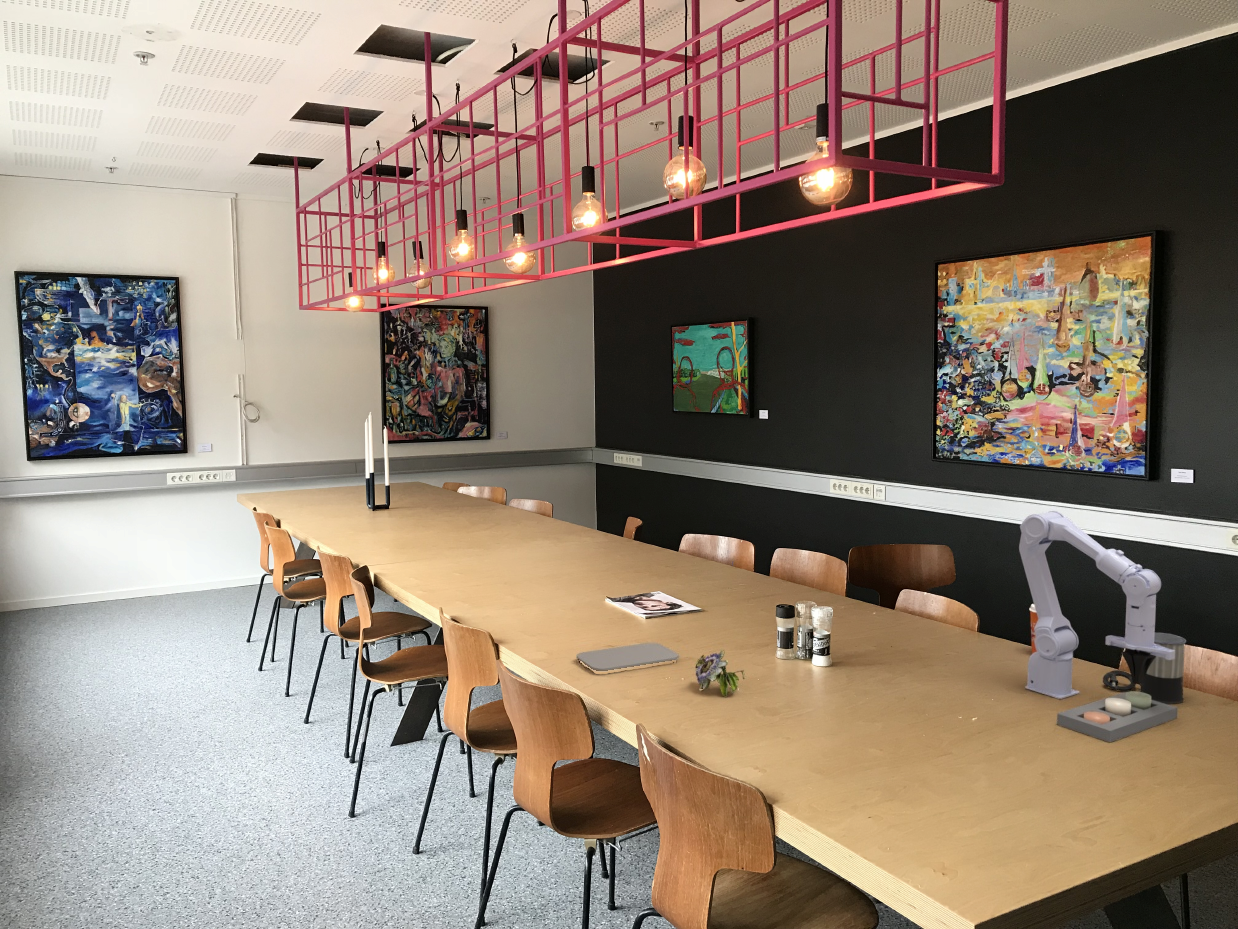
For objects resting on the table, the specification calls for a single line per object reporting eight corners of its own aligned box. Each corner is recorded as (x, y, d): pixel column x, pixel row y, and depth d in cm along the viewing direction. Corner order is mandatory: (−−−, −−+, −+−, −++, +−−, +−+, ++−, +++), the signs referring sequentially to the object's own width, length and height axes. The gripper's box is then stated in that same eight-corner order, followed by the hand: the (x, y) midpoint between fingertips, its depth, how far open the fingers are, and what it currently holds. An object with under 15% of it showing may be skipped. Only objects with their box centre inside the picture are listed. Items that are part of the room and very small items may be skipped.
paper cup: (1021, 653, 252) (1023, 604, 251) (1042, 650, 254) (1044, 601, 253) (1043, 661, 244) (1045, 610, 243) (1065, 657, 247) (1066, 607, 246)
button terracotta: (1078, 726, 197) (1079, 714, 197) (1092, 722, 200) (1092, 710, 199) (1100, 734, 193) (1101, 721, 193) (1114, 729, 195) (1114, 716, 195)
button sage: (1120, 705, 205) (1121, 694, 205) (1133, 701, 208) (1133, 690, 207) (1142, 712, 201) (1143, 700, 201) (1155, 708, 203) (1155, 696, 203)
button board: (1056, 724, 199) (1057, 713, 199) (1124, 702, 212) (1124, 692, 212) (1110, 742, 188) (1110, 731, 188) (1177, 718, 202) (1177, 707, 202)
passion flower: (702, 711, 224) (683, 667, 229) (740, 697, 228) (720, 654, 233) (715, 699, 215) (695, 653, 220) (754, 685, 219) (734, 639, 223)
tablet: (683, 664, 246) (683, 656, 246) (596, 678, 235) (596, 669, 235) (655, 649, 261) (655, 641, 261) (572, 661, 250) (572, 653, 250)
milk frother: (1190, 706, 209) (1193, 643, 208) (1116, 701, 213) (1118, 640, 211) (1166, 686, 223) (1169, 627, 222) (1097, 682, 227) (1099, 624, 225)
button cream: (1100, 712, 201) (1100, 700, 201) (1113, 708, 204) (1113, 696, 203) (1122, 719, 197) (1122, 707, 196) (1135, 715, 199) (1135, 702, 199)
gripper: (1098, 619, 207) (1096, 677, 208) (1163, 634, 194) (1160, 695, 195) (1116, 615, 210) (1114, 672, 211) (1181, 629, 198) (1178, 689, 199)
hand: (1137, 683), depth 203 cm, fingers closed
